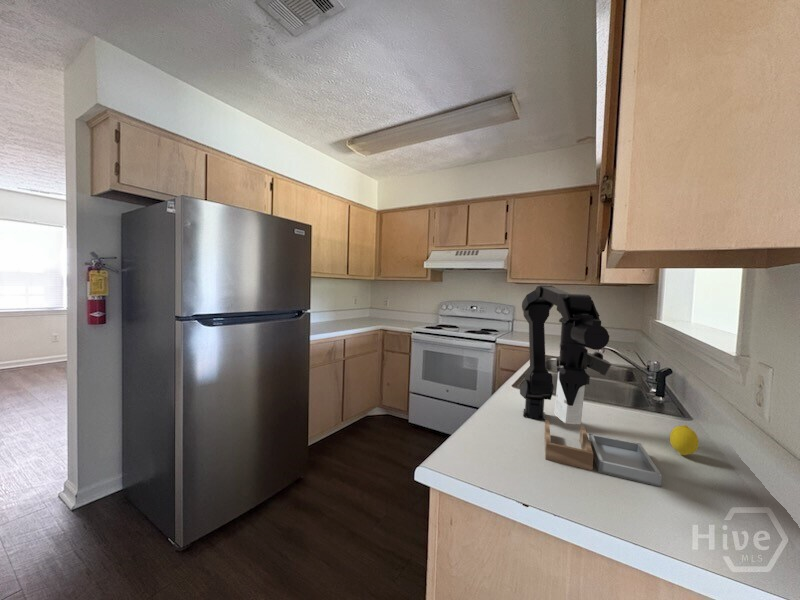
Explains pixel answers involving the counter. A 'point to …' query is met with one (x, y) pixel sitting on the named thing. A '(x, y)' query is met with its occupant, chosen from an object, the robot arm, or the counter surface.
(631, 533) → the counter surface
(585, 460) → the bay
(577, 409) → the skincare box
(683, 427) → the lemon
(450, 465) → the counter surface
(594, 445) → the tray
